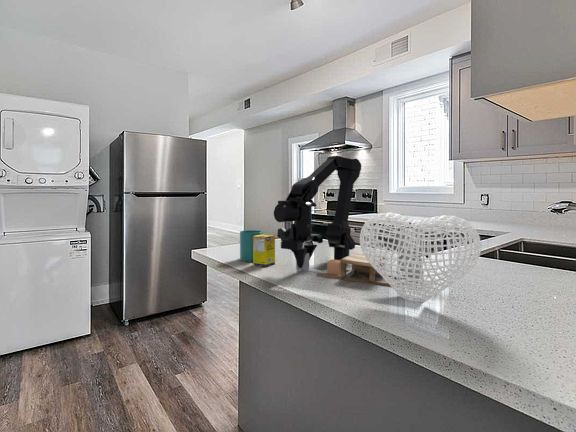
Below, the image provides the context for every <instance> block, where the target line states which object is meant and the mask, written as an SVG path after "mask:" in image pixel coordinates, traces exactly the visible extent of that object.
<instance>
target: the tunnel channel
mask: <svg viewBox="0 0 576 432" xmlns="http://www.w3.org/2000/svg"><path fill="white" fill-rule="evenodd" d="M373 255H374V254H372V256H373ZM375 258H376V257H375ZM377 258H378V259H379V256H377ZM371 259H372V260H373V258H371ZM382 259H383V260H384V259H385V258H384V257H382ZM382 259H381V258H380V261H381V260H382ZM370 261H371V260H370ZM373 261H374V260H373ZM371 262H372V261H371ZM376 262H378V261H376ZM340 263H341V275H335V274H328V273H321V272H316V275H317V276H319V277H325V278H333V279H339V280H344V281H345V280H346V281H351V282H352V281H353V282H358V283H365V284H372V285H376V286H377V285H378V286H385V287H391V286H390V284H389V283H388V282H387V281H381V280H376V277H378V278H383V277H382V276H381V275H380V274H379V273H378V272H377V271H376V270H375V269H374V268H373V266H372V265H371V264H370V263H369V262H368V260H367V259H366V257H365V256H364V254H363V253H352V254H349V256H347V257H345V258H342V259H340ZM347 264H349V265H351V269H349V268H347ZM382 264H383V263H382ZM383 265H384V264H383ZM376 266H377V265H376ZM380 266H382V265H381V264H380ZM377 267H378V266H377ZM382 267H383V266H382ZM379 268H380V267H379ZM350 270H354V274H357V275H364V276H369V279H367V278H360V277H354V276H350V277H348V276H346V272H348V271H350ZM380 270H381V269H380ZM383 270H384V269H383ZM378 271H379V270H378ZM379 272H380V271H379ZM388 276H389V275H388ZM389 277H391V276H389ZM397 278H398V277H397ZM397 278H396V277H394V279H395V280H397ZM403 279H405V278H403ZM398 280H399V278H398ZM401 280H402V278H401ZM397 284H398V285H400V284H399V283H397ZM395 285H396V284H395ZM391 288H392V287H391ZM397 288H398V287H397Z"/></svg>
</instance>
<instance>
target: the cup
mask: <svg viewBox="0 0 576 432" xmlns="http://www.w3.org/2000/svg"><path fill="white" fill-rule="evenodd" d="M261 234H264V231H262V230H258V229H255V230H254V229H250V230H249V229H248V230H241V231H239V259H240V260H241V261H242V262H248V261H253V236H256V235H261Z"/></svg>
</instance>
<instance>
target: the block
mask: <svg viewBox="0 0 576 432" xmlns="http://www.w3.org/2000/svg"><path fill="white" fill-rule="evenodd" d="M326 265H327V266H326V268H327V269H326V270H327V273H328V274H335V275H341V263H340V260H334V258H333V259H330V260H328V261H327V263H326Z"/></svg>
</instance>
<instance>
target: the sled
mask: <svg viewBox="0 0 576 432" xmlns="http://www.w3.org/2000/svg"><path fill="white" fill-rule="evenodd" d="M295 262H296V263H295V266H296V267H295V270H296V273H299V272H302V271H308V272H313V273H318V272H321V273H327V269H324V270H320V269H315V268H310V260H309V253H306V255H305V258H304V262H303V265H302V268H299V267H298V265H297V261H296V260H295ZM353 275H355V273H354V270H352V269H350V271H348V272H346V276H348V277H352V276H353Z"/></svg>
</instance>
